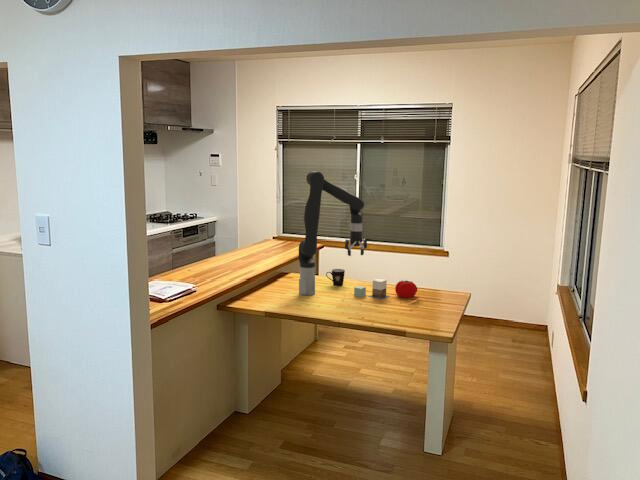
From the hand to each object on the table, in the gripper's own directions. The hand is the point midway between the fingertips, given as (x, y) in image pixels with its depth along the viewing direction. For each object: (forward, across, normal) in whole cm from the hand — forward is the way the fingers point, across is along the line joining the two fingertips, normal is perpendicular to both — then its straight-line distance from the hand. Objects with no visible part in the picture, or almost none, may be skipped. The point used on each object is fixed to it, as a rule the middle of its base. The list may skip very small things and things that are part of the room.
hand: (355, 255), depth 336 cm
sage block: (+22, -4, -16) cm, 28 cm away
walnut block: (+21, +6, -22) cm, 31 cm away
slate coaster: (+22, +6, -22) cm, 32 cm away
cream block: (+16, +6, -22) cm, 28 cm away
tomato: (+22, +21, -27) cm, 41 cm away
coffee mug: (+22, -6, +16) cm, 28 cm away
